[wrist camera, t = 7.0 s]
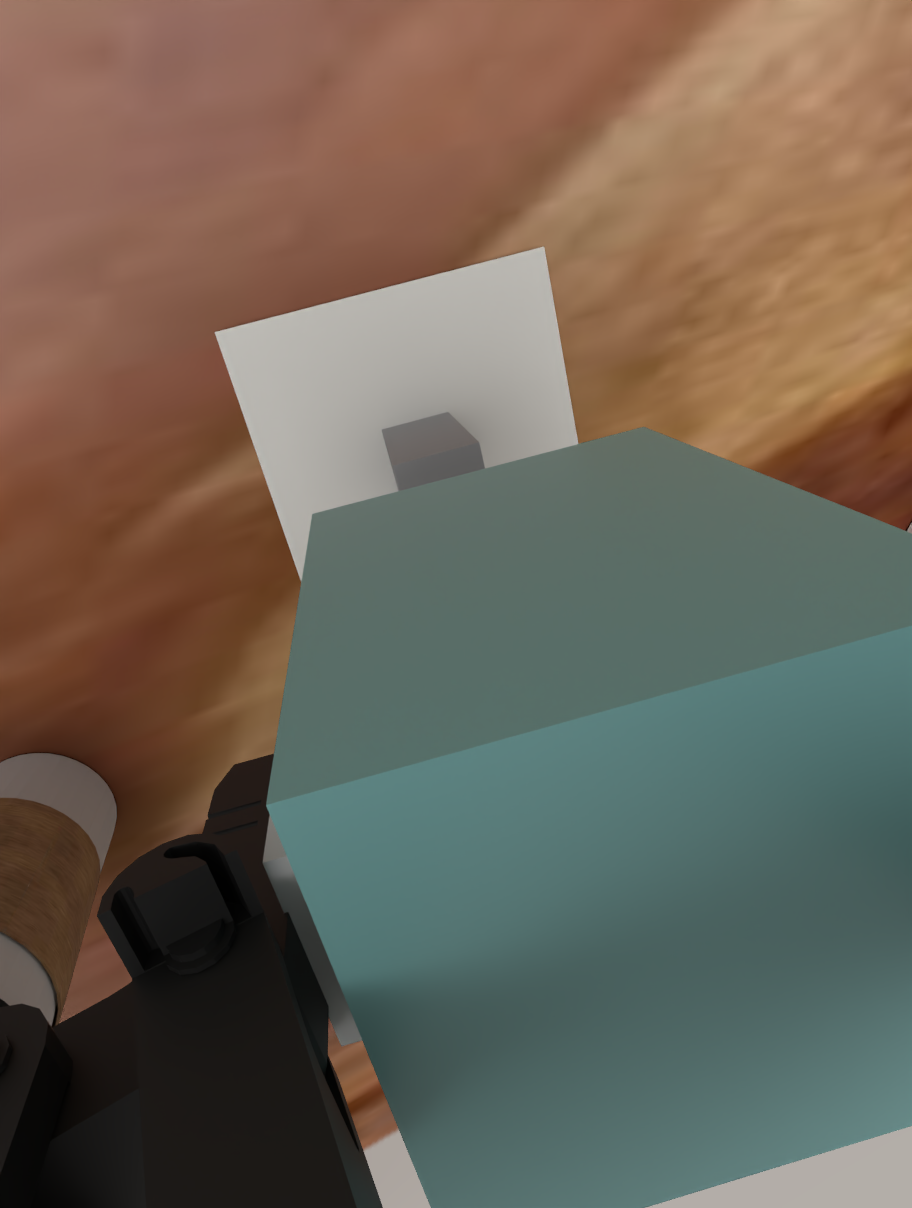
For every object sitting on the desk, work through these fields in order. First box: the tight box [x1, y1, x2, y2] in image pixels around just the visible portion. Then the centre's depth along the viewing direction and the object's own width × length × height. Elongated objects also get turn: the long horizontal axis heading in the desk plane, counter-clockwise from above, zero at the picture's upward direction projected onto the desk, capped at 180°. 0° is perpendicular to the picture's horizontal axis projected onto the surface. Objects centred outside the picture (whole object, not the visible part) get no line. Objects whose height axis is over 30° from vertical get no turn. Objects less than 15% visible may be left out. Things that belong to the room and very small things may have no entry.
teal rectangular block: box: [266, 427, 912, 1208], centre depth 10 cm, size 6×6×8 cm
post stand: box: [215, 247, 578, 581], centre depth 26 cm, size 12×12×8 cm
